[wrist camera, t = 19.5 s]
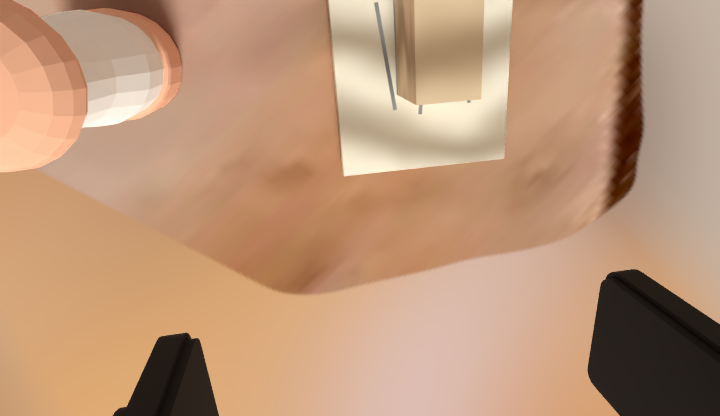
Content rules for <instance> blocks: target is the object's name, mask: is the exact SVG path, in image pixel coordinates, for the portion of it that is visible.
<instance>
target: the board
mask: <svg viewBox="0 0 720 416" xmlns="http://www.w3.org/2000/svg"><path fill="white" fill-rule="evenodd" d="M512 1H513V0H484V29H483V60H482V91H481V99H479V100H468V101H458V102H447V103H437V104H426V105H415V104H413V103H411V102H409V101H407V100H406V99H404V98H402V97H400V96H398V95H397V86H396V60H395V34H394V8H393V0H327V5H328V16H329V27H330V38H331V50H332V61H333V72H334V83H335V95H336V106H337V117H338V129H339V140H340V151H341V162H342V172H343V174H344V176H350V175H359V174H368V173H377V172H387V171H396V170H405V169H414V168H423V167H432V166H441V165H450V164H460V163H469V162H478V161H487V160H496V159H504V149H505V131H506V112H507V94H508V75H509V57H510V38H511V20H512Z"/></svg>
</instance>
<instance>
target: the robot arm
mask: <svg viewBox="0 0 720 416" xmlns="http://www.w3.org/2000/svg"><path fill="white" fill-rule="evenodd" d="M588 375H589V378H590V380H591V382H592V383H593V385H594V386H595V387H596V388H597V390H598V391H599V392H600V393H601V394H602V395H603V397H604V398H605V399H606V400H607V401H608V402H609V403H610V405H611V406H612V407H613V408H614V409H615V410H616V412H617V413H618V414H619V415H620V416H720V324H718V323H717V322H715V321H714V320H712V319H711V318H709V317H708V316H706V315H705V314H703V313H702V312H700V311H699V310H697V309H696V308H694V307H693V306H691V305H690V304H688V303H687V302H685V301H684V300H683V299H681V298H680V297H678V296H677V295H675V294H673V293H672V292H671V291H669V290H668V289H666V288H664V287H663V286H662V285H660V284H659V283H657V282H656V281H654V280H653V279H651V278H650V277H648V276H647V275H645V274H644V273H642V272H640V271H639V270H635V269H634V270H633V269H631V270H624V271H618V272H612V273H609V274H608V275H607V277H606V279H605V280H603V282H602V283H601V286H600V292H599V299H598V305H597V312H596V318H595V324H594V331H593V338H592V344H591V351H590V357H589V364H588ZM113 416H219V414H218V410H217V406H216V403H215V398H214V394H213V390H212V387H211V382H210V378H209V374H208V371H207V367H206V363H205V359H204V355H203V351H202V347H201V343H200V340H199V339H198V338H195V339H191V337H190V335H189V334H188V333H182V334H175V335H168V336H161V337H159V338H158V340H157V342H156V344H155V346H154V348H153V350H152V353H151V355H150V357H149V359H148V362H147V364H146V366H145V368H144V370H143V372H142V375H141V377H140V379H139V381H138V383H137V386H136V388H135V390H134V392H133V394H132V397H131V399H130V401H129V403H128V405H127V407H123V408H119V409H118V410H117V411H116V412H115V413H114V415H113Z"/></svg>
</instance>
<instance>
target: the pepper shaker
mask: <svg viewBox="0 0 720 416" xmlns="http://www.w3.org/2000/svg"><path fill="white" fill-rule="evenodd" d="M181 81H182V63H181V59H180V55H179V51H178V49H177V47H176V45H175V44H174V42H173V40H172V39H171V37H170V35H169V34H168V33H167V32H166V31H165V30H163V29H162V28H161V27H160V26H159V25H158V24H157V23H156V22H154V21H152V20H150V19H149V18H147V17H145V16H143V15H141V14H137V13H132V12H127V11H122V10H116V9H110V8H99V9H90V10H81V9H80V10H71V11H62V12H58V13H54V14H50V15H46V16H42V17H39V16H38V15H37V14H35V13H34V12H33V11H32V10H30V9H28V8H26V7H24V6H22V5H20V4H18V3H16V2H14V1H12V0H0V172H12V171H19V170H26V169H33V168H39V167H41V166H43V165H45V164H47V163H49V162H51V161H53V160H55V159H57V158H59V157H61V156H62V155H63V154H64V153H65V152H66V151H67V150H68V149H69V148H70V146H71V145H72V144H73V143H74V142H75V141H76V140H77V139H78V137H79V134H80V131H81V128H83V127H96V126H105V125H113V124H118V123H120V122H122V121H126V120H134V119H140V118H142V117H144V116H146V115H148V114H150V113H152V112H154V111H156V110H158V109H160V108H162V107H163V106H165V105H167V104H168V103H169V101H170V100H171V99H172V98H173V97H174V96H175V95H176V93H177V91H178V88H179V86H180V84H181Z"/></svg>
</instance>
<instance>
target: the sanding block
mask: <svg viewBox="0 0 720 416" xmlns="http://www.w3.org/2000/svg"><path fill="white" fill-rule="evenodd" d="M393 8H394V34H395V60H396V86H397V95H398V96H400V97H402V98H404V99H406V100H407V101H409V102H411V103H413V104H415V105H426V104H437V103H447V102H458V101H468V100H479V99H481V91H482V60H483V29H484V0H393Z"/></svg>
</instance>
